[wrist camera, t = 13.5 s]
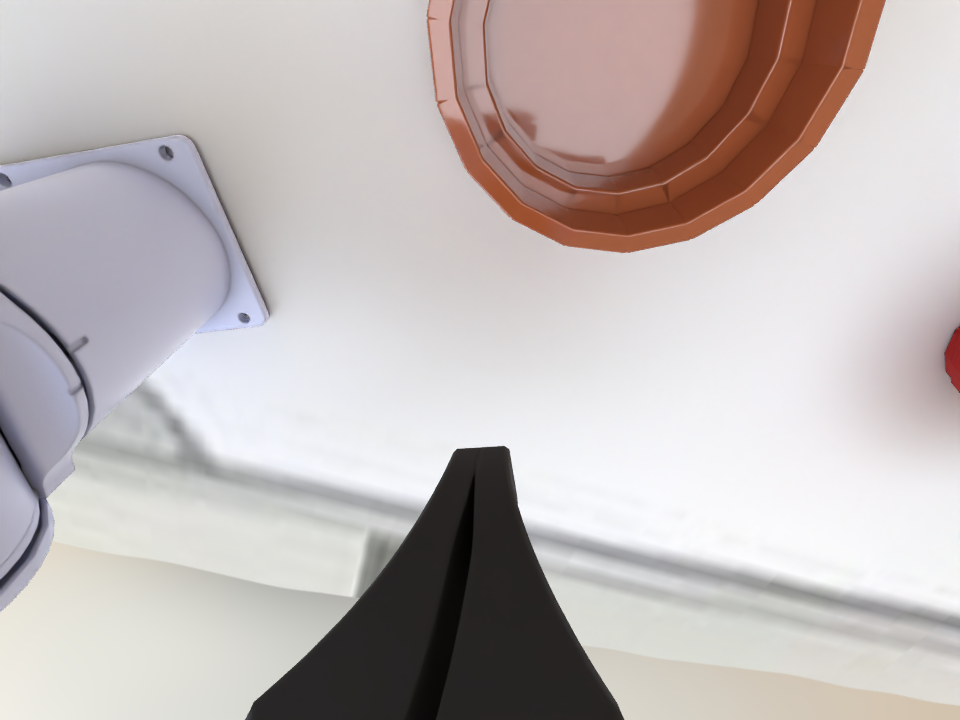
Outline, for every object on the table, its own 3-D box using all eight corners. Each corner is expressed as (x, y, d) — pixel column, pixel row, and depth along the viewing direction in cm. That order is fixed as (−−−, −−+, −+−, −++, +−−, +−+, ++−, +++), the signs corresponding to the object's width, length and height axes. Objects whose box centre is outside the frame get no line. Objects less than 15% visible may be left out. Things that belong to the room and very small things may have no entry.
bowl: (652, 254, 20) (685, 307, 16) (400, 122, 18) (368, 148, 14) (882, -63, 14) (1016, -96, 10) (552, -311, 12) (570, -467, 8)
